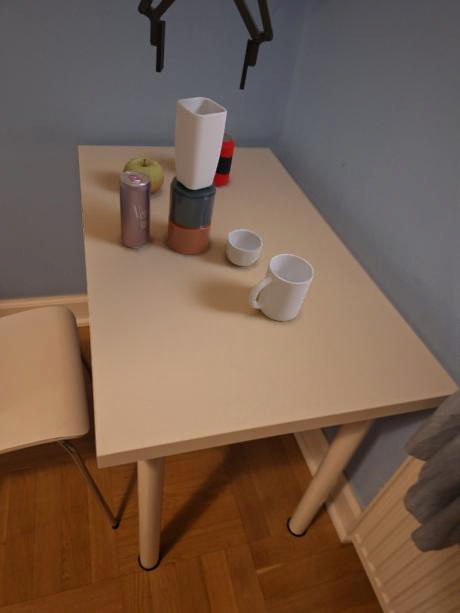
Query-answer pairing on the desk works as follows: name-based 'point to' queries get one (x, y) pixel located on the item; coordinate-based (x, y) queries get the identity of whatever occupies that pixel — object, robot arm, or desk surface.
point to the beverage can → (135, 208)
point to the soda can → (224, 161)
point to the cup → (198, 140)
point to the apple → (147, 171)
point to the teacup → (243, 247)
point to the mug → (283, 287)
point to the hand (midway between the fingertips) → (201, 78)
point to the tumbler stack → (190, 217)
